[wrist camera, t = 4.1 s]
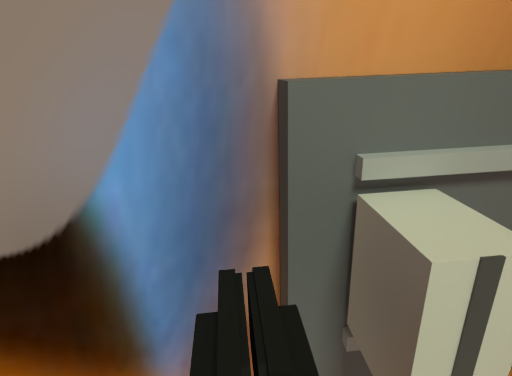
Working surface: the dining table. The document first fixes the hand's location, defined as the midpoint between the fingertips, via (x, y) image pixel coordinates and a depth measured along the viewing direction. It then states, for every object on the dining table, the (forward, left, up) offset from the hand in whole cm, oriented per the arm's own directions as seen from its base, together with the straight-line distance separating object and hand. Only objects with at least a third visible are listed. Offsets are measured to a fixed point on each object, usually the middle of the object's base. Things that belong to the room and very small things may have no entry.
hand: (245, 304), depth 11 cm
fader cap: (0, +6, -2) cm, 6 cm away
